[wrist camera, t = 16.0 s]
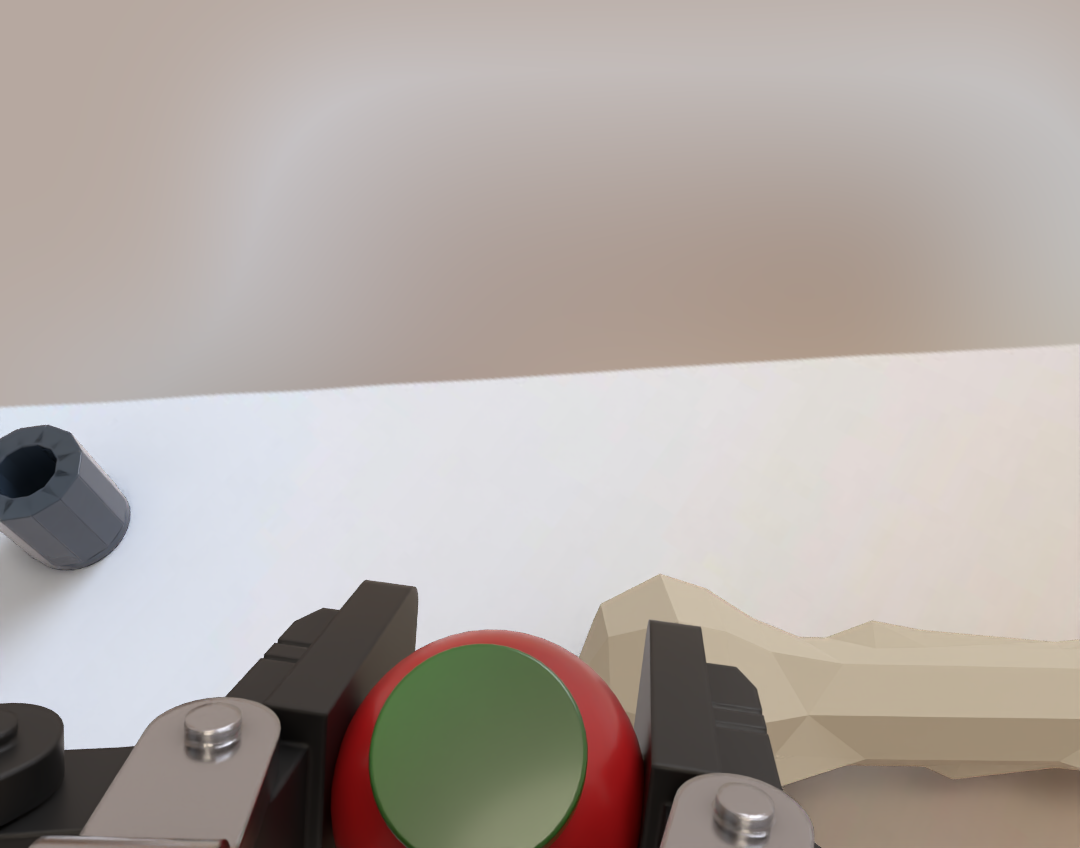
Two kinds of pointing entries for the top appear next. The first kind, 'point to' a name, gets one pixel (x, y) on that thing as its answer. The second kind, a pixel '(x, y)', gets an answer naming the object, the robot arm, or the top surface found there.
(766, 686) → the faceted club
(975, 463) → the top surface
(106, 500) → the holder
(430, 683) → the red ball joystick
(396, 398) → the top surface
